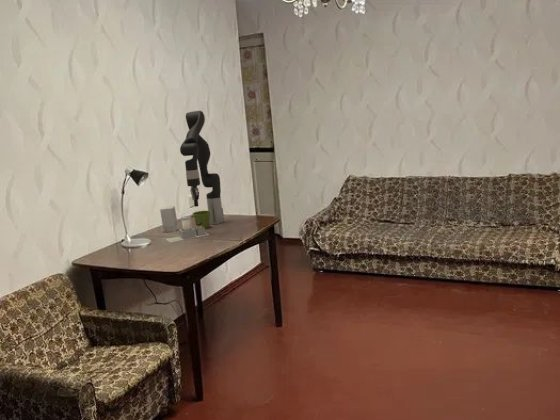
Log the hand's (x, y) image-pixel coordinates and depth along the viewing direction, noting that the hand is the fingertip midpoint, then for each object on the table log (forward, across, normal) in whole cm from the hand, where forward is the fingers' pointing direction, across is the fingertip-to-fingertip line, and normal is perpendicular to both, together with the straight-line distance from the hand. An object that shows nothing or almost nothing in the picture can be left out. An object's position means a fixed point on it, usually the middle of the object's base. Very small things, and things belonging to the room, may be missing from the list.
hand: (196, 206), depth 313 cm
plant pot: (+19, +17, -6) cm, 27 cm away
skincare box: (+19, +29, +12) cm, 37 cm away
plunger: (+17, 0, 0) cm, 17 cm away
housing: (+19, 0, +8) cm, 20 cm away
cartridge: (+17, 0, +8) cm, 19 cm away
